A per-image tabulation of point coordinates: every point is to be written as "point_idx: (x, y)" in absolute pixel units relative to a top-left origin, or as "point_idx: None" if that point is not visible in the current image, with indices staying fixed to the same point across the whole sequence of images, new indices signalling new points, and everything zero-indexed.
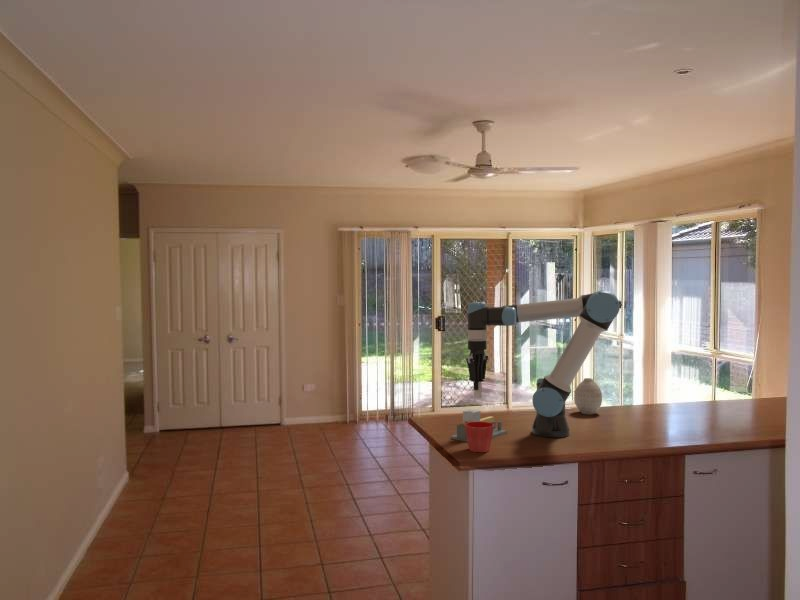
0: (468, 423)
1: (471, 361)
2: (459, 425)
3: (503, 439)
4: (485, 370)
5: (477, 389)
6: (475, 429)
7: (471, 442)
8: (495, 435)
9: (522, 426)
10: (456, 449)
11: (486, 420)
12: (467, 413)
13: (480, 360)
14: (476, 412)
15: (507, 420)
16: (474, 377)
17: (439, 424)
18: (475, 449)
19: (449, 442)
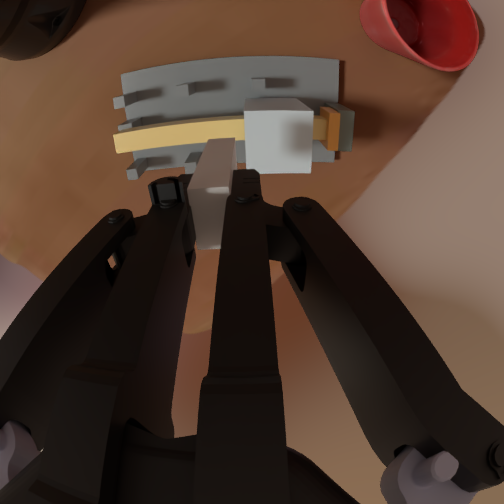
0: (435, 64)
1: (502, 427)
2: (351, 138)
3: (211, 21)
4: (54, 277)
5: (242, 171)
6: (471, 19)
7: (438, 34)
8: (199, 60)
9: (32, 115)
10: (426, 82)
11: (170, 124)
12: (310, 144)
13: (123, 470)
14: (282, 109)
15: (25, 193)
16: (335, 224)
17: (205, 282)
18: (422, 23)
19: (374, 136)
